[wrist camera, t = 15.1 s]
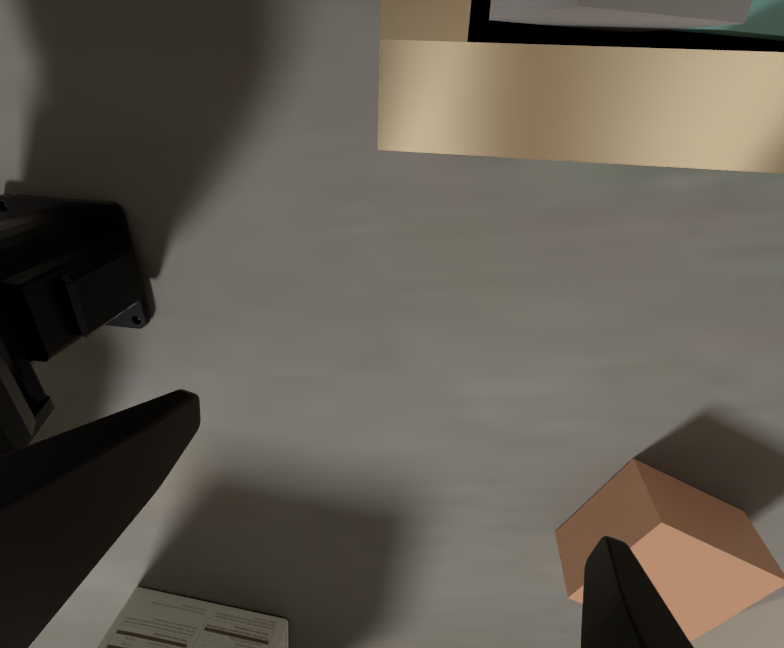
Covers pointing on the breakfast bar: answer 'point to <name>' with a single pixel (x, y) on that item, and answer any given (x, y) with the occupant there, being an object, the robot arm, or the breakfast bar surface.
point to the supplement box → (191, 624)
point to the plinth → (674, 546)
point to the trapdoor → (651, 15)
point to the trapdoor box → (572, 97)
